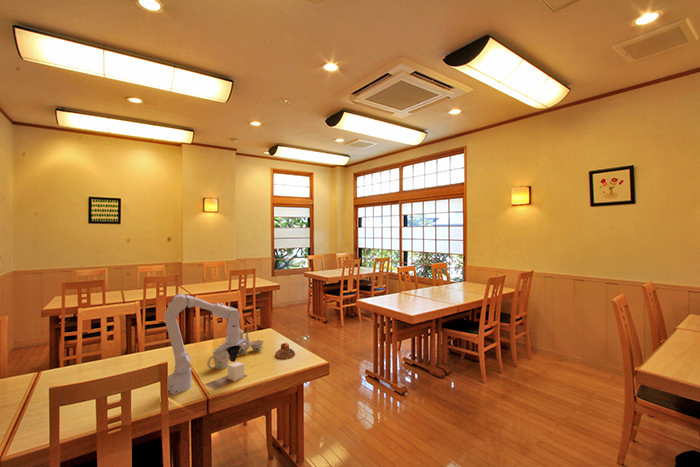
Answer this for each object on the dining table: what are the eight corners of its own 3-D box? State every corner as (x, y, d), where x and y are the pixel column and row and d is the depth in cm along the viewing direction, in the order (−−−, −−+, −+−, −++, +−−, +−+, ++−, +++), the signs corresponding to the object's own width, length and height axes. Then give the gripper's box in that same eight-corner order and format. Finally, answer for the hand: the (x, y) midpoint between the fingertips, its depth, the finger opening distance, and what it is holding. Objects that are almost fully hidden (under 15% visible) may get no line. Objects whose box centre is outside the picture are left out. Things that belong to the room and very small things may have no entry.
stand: (215, 391, 146) (215, 389, 146) (204, 386, 151) (204, 384, 151) (248, 377, 161) (248, 375, 161) (237, 373, 166) (237, 371, 166)
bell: (297, 357, 189) (297, 345, 189) (277, 361, 184) (277, 348, 184) (291, 351, 200) (291, 339, 200) (272, 354, 194) (272, 342, 194)
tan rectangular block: (234, 381, 155) (234, 367, 155) (227, 378, 158) (227, 365, 158) (243, 377, 159) (243, 363, 159) (237, 374, 162) (237, 361, 162)
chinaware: (267, 350, 205) (268, 324, 207) (256, 357, 189) (258, 328, 191) (225, 349, 208) (227, 323, 210) (212, 355, 192) (213, 327, 194)
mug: (233, 367, 174) (233, 348, 174) (212, 375, 163) (212, 356, 164) (223, 364, 178) (223, 346, 179) (202, 372, 168) (202, 353, 168)
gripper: (224, 338, 150) (224, 367, 150) (250, 331, 162) (250, 358, 162) (216, 336, 154) (216, 364, 154) (242, 329, 166) (241, 355, 166)
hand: (233, 361), depth 158 cm, fingers closed
